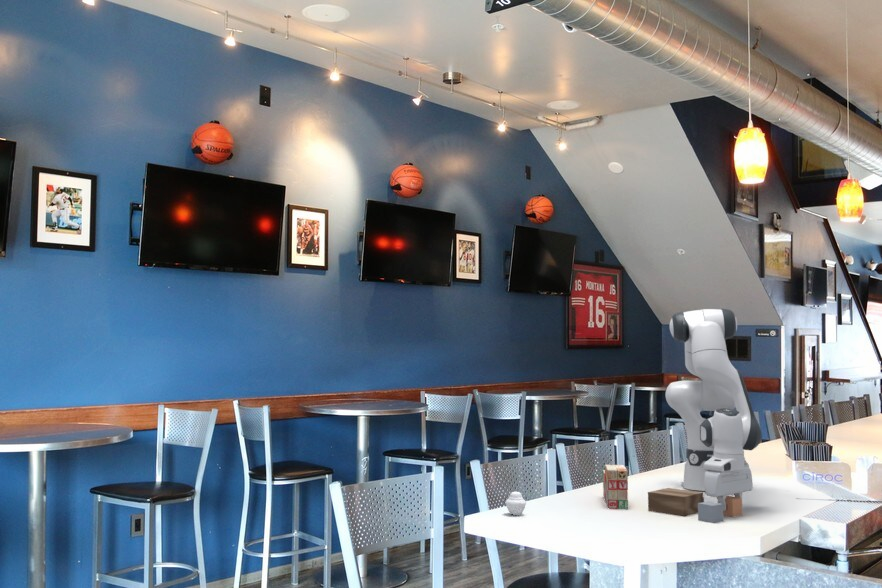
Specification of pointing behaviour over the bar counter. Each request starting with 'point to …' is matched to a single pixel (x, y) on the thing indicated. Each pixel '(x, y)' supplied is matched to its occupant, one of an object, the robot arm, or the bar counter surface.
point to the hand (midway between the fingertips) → (730, 508)
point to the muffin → (515, 503)
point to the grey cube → (710, 512)
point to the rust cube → (733, 506)
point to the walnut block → (674, 501)
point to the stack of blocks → (615, 486)
